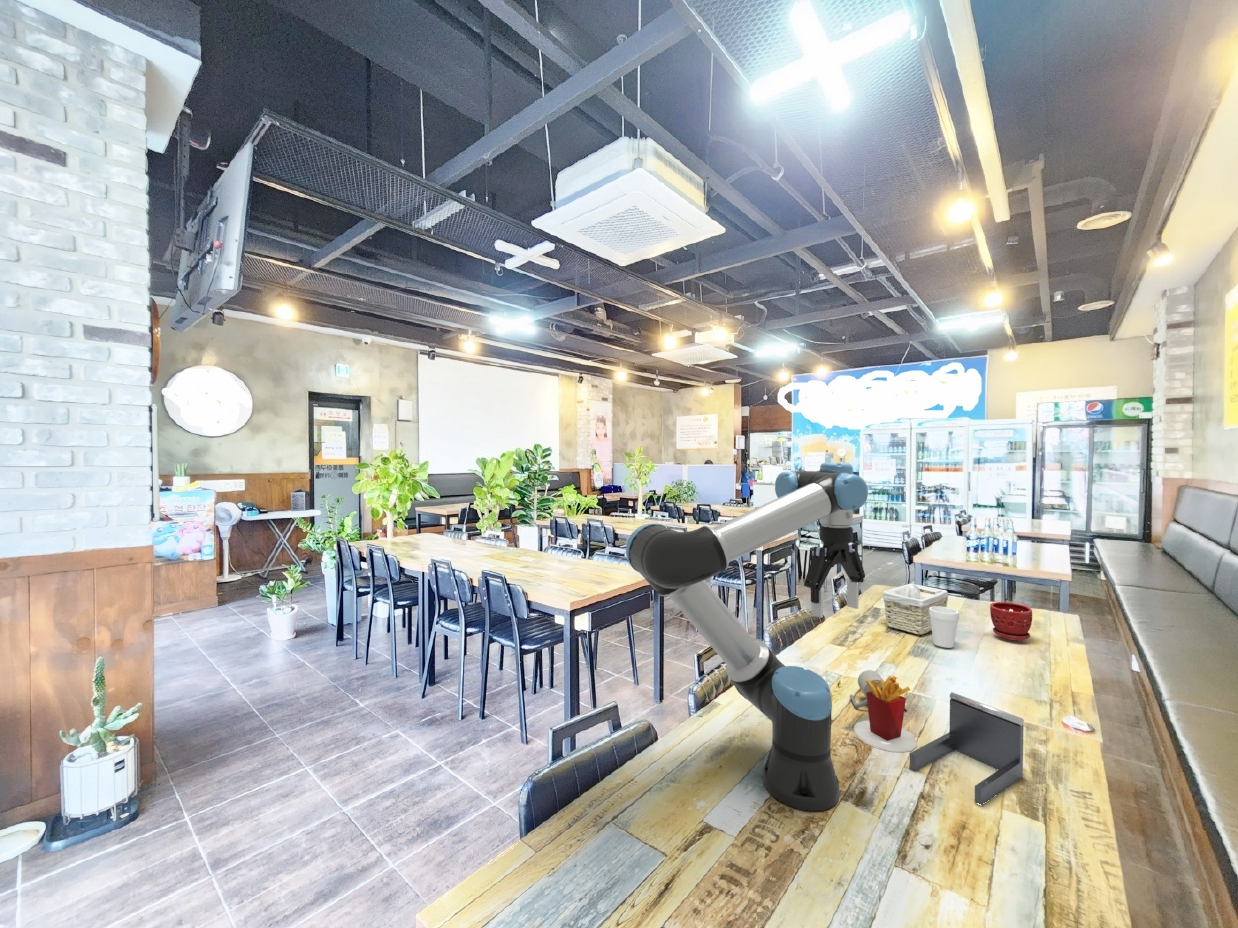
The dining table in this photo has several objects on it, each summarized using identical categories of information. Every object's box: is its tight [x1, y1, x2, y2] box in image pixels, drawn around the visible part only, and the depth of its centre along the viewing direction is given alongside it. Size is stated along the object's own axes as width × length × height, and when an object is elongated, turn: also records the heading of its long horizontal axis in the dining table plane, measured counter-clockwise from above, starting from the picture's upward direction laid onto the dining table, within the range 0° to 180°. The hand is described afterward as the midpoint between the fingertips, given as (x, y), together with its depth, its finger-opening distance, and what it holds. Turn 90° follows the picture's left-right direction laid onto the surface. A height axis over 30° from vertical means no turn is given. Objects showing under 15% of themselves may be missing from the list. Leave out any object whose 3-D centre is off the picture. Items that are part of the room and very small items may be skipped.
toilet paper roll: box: [849, 669, 885, 709], centre depth 146 cm, size 10×11×12 cm
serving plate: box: [853, 719, 918, 754], centre depth 129 cm, size 14×14×1 cm
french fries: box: [865, 675, 911, 741], centre depth 128 cm, size 9×8×15 cm
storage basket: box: [882, 583, 949, 635], centre depth 213 cm, size 24×16×15 cm
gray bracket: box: [909, 691, 1025, 806], centre depth 114 cm, size 19×14×14 cm
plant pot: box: [989, 601, 1033, 642], centre depth 200 cm, size 13×13×12 cm
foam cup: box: [929, 606, 960, 649], centre depth 192 cm, size 10×9×13 cm
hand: (835, 611), depth 126 cm, fingers open, 13 cm apart
